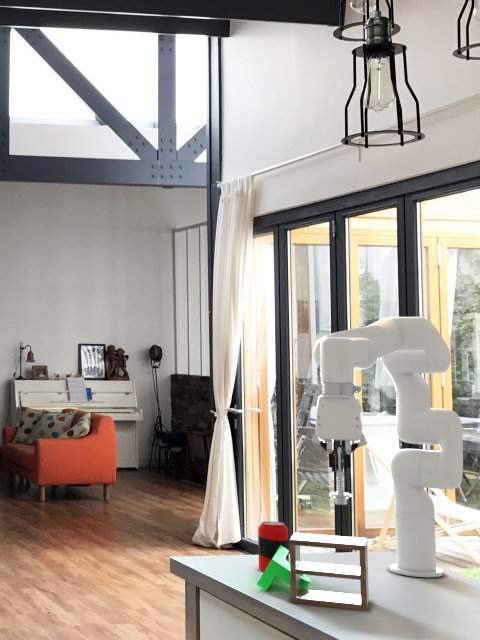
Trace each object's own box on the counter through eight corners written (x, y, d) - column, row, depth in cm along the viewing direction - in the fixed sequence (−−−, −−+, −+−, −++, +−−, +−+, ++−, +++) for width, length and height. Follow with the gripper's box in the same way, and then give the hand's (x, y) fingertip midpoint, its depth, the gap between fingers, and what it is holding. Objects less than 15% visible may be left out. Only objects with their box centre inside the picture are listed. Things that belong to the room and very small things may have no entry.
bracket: (293, 610, 237) (309, 584, 236) (256, 584, 241) (272, 559, 240) (301, 591, 256) (316, 567, 255) (266, 568, 259) (280, 544, 259)
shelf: (295, 593, 237) (294, 532, 239) (368, 601, 231) (367, 538, 232) (290, 602, 228) (289, 539, 230) (366, 610, 222) (365, 545, 223)
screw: (344, 502, 235) (356, 505, 231) (325, 502, 234) (337, 505, 230) (342, 445, 237) (354, 447, 232) (324, 445, 236) (335, 447, 231)
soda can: (264, 566, 269) (263, 519, 270) (293, 569, 264) (292, 522, 266) (254, 570, 263) (253, 523, 264) (283, 574, 258) (282, 526, 259)
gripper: (375, 391, 236) (377, 471, 234) (303, 389, 242) (305, 467, 240) (374, 392, 229) (376, 475, 227) (300, 390, 235) (302, 470, 233)
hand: (339, 470), depth 233 cm, fingers closed on screw, 2 cm apart
